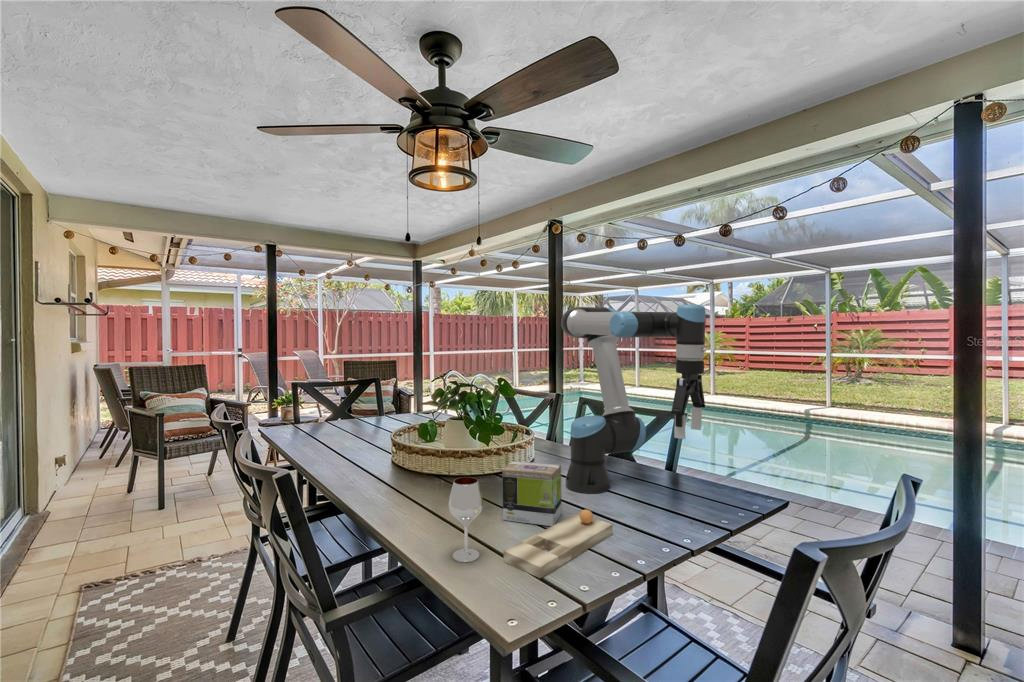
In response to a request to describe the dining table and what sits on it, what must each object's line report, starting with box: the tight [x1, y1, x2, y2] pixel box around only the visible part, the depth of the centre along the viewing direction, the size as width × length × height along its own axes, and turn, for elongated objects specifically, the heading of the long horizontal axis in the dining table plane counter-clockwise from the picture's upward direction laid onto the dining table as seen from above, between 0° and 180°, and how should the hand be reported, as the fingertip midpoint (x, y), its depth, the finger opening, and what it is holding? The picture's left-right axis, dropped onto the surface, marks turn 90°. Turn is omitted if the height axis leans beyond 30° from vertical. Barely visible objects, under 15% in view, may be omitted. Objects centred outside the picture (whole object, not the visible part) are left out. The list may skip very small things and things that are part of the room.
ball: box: [579, 509, 594, 524], centre depth 125 cm, size 4×4×4 cm
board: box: [503, 513, 613, 579], centre depth 117 cm, size 11×30×2 cm, turn 137°
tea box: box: [501, 460, 562, 527], centre depth 135 cm, size 15×10×15 cm, turn 71°
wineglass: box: [448, 476, 484, 563], centre depth 112 cm, size 8×8×18 cm
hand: (688, 433), depth 134 cm, fingers open, 13 cm apart
